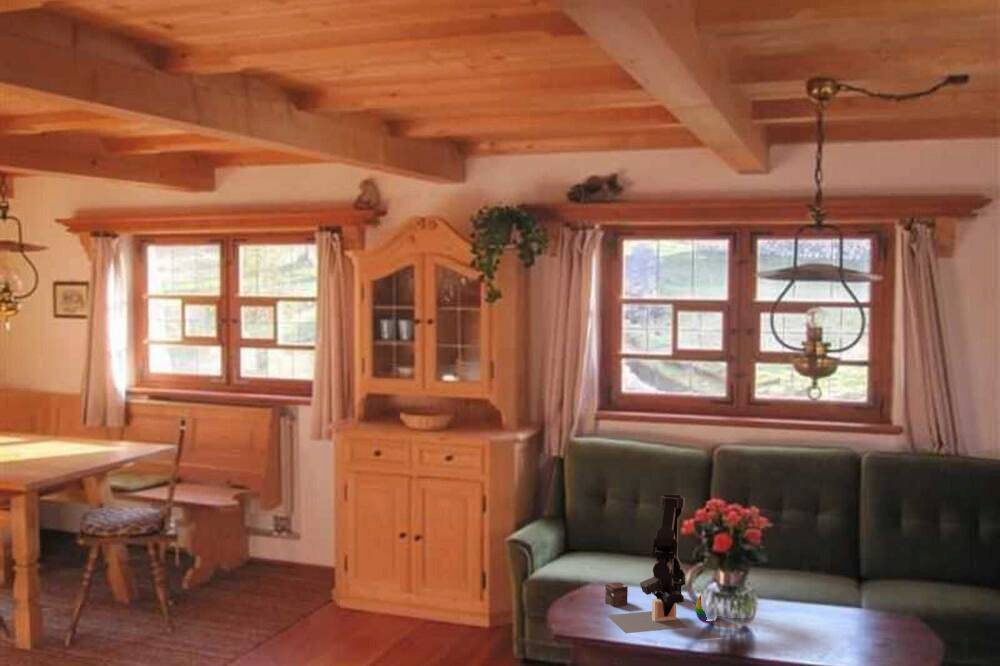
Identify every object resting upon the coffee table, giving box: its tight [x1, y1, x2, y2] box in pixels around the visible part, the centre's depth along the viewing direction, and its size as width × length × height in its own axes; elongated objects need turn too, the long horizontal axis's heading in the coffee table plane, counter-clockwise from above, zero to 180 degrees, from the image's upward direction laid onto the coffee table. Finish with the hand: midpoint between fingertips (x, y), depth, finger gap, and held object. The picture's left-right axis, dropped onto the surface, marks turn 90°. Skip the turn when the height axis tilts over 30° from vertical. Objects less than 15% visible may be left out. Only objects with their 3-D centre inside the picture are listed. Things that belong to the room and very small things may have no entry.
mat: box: [606, 610, 689, 634], centre depth 335 cm, size 23×18×1 cm
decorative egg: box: [695, 594, 707, 622], centre depth 337 cm, size 8×8×10 cm
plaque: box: [651, 598, 677, 622], centre depth 336 cm, size 8×3×7 cm, turn 104°
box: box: [604, 581, 629, 608], centre depth 353 cm, size 6×6×7 cm
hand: (664, 614), depth 336 cm, fingers closed on plaque, 3 cm apart
